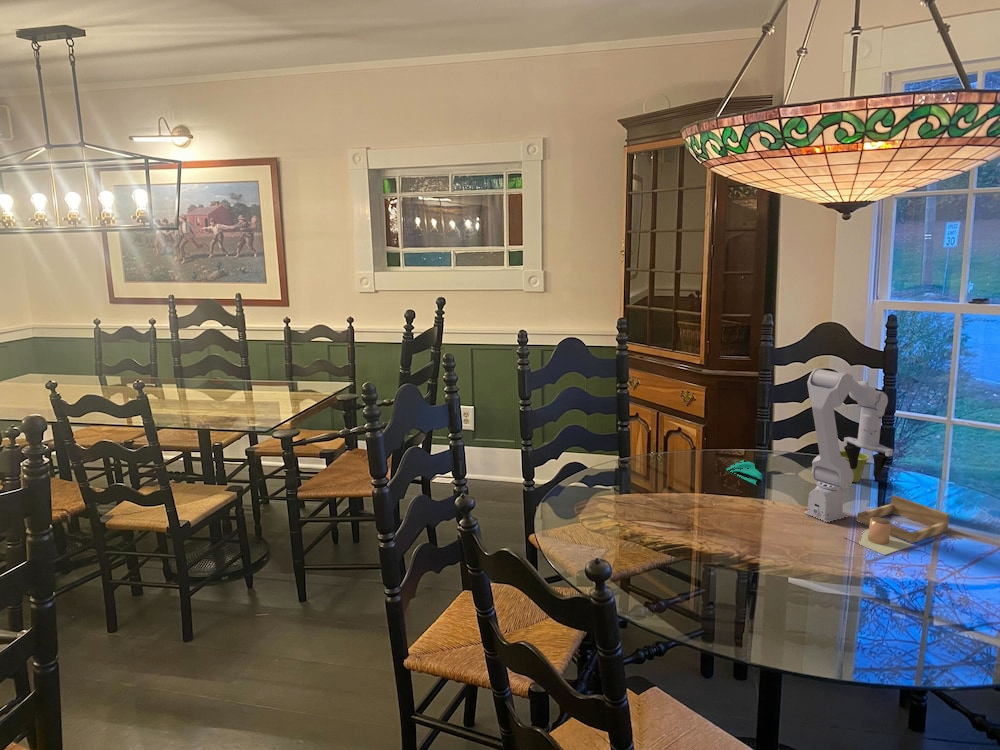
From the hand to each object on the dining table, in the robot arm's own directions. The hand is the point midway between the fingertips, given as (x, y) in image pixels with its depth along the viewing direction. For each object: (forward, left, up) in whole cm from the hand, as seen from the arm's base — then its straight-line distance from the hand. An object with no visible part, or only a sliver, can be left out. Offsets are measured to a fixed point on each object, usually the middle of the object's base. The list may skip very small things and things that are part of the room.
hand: (864, 472), depth 211 cm
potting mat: (-22, -20, -9) cm, 31 cm away
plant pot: (+14, +14, -10) cm, 22 cm away
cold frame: (-7, -17, -9) cm, 21 cm away
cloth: (-10, +36, -10) cm, 39 cm away
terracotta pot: (-22, -20, -9) cm, 31 cm away
